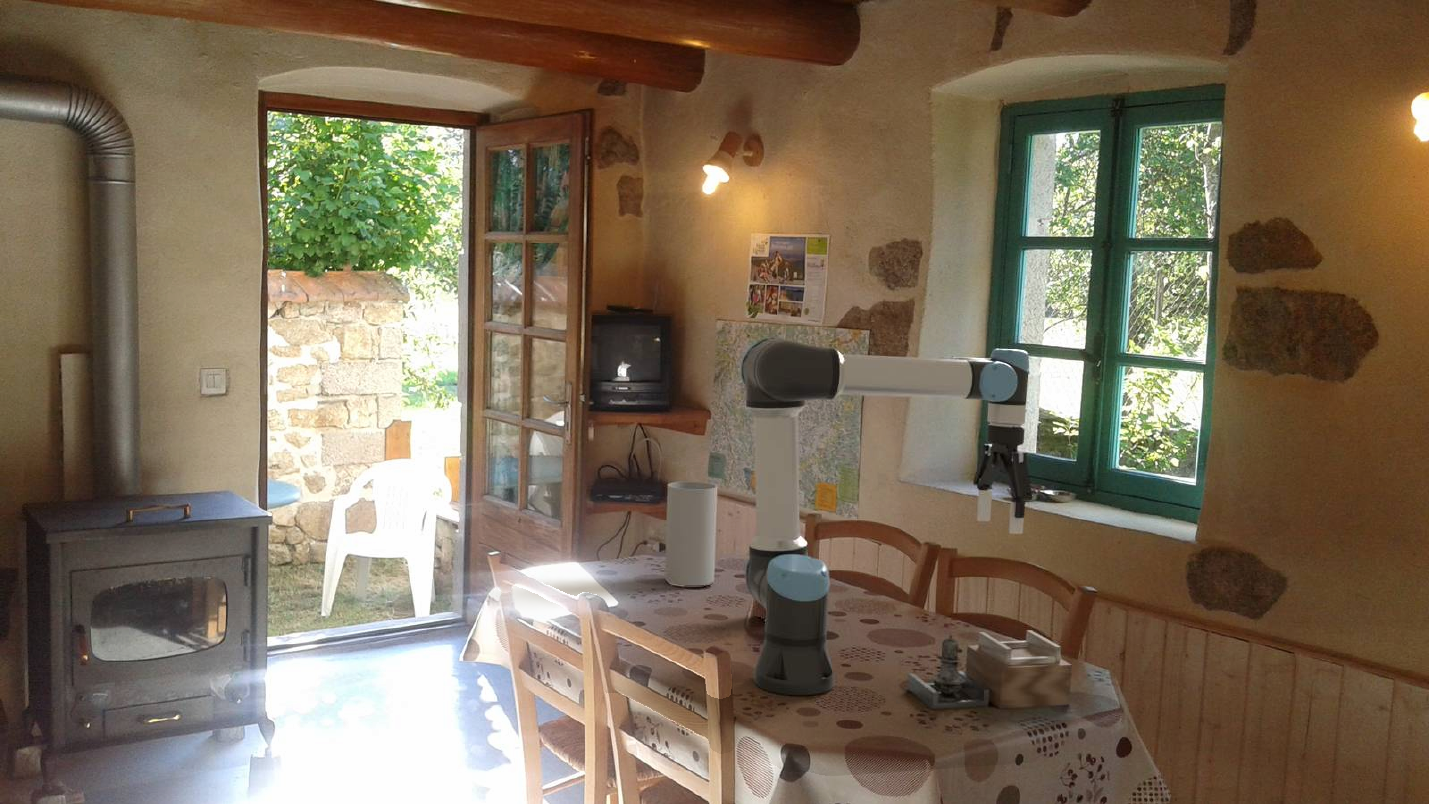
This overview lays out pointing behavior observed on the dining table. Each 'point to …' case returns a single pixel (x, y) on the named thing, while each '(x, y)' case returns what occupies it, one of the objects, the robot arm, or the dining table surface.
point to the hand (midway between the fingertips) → (999, 527)
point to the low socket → (931, 699)
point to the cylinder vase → (690, 533)
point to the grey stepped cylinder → (949, 672)
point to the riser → (1020, 671)
